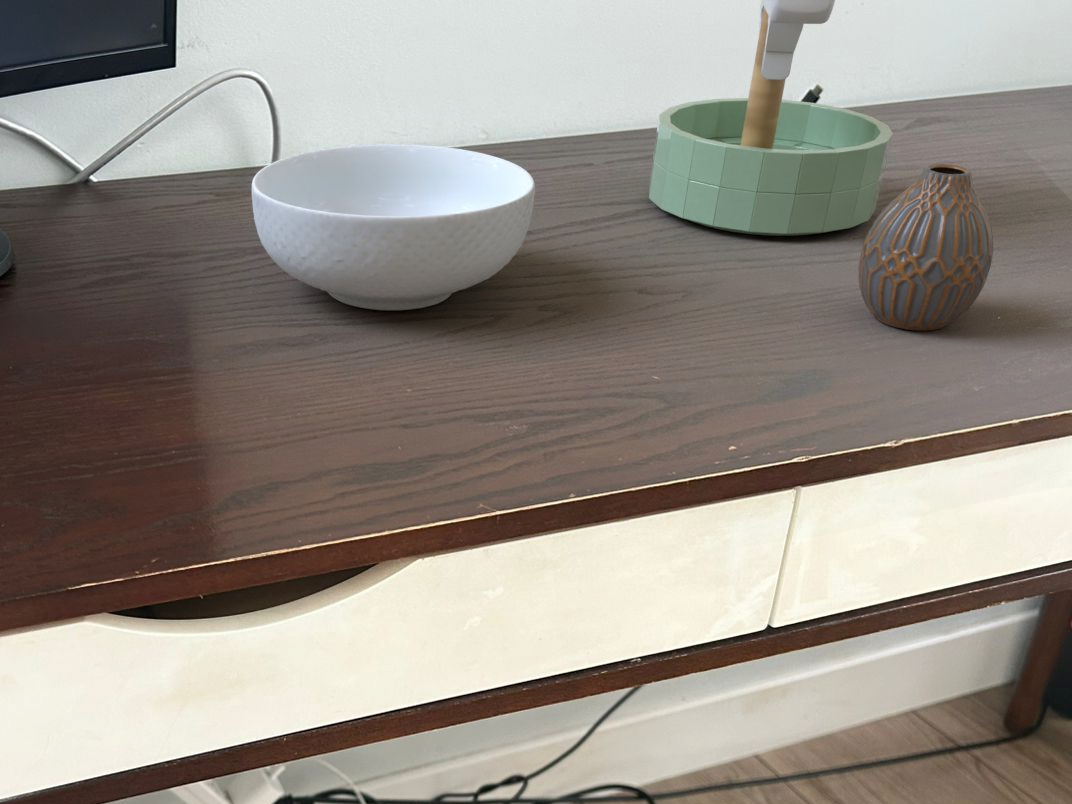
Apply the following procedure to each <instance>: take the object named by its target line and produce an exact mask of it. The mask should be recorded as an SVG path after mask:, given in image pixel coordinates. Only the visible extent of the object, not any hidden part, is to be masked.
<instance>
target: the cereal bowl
mask: <svg viewBox="0 0 1072 804" xmlns="http://www.w3.org/2000/svg"><path fill="white" fill-rule="evenodd" d="M535 183H536V182H535V180H534V178H533V176H532V175H531V174H530V173H529V171H527V170H526V169H525V168H523V167H522V166H520V165H518V164H516V163H514V162H511V161H509V160H507V159H504V158H502V157H501V158H500V157H497V156H494V155H491V154H487V153H483V152H479V151H474V150H469V149H462V148H456V147H455V148H454V147H447V146H439V145H425V144H409V143H408V144H407V143H406V144H403V143H377V144H375V143H374V144H373V143H372V144H361V145H360V144H358V145H346V146H338V147H337V146H336V147H329V148H321V149H316V150H315V149H314V150H310V151H306V152H302V153H297V154H294V155H290V156H287V157H284V158H280V159H278V160H275V161H273V162H271V163H269V164H268V165H266V166H263V168H261V169H260V170H259V171H258V172H256V174H255V175H254V177H253V179H252V181H251V203H252V204H251V206H252V212H253V220H254V224H255V229H256V232H257V235H258V238H259V240H260V244H261V245H262V247H263V248H264V250H265V251H266V253H267V254H268V256H269V257H270V258H271V260H272V261H273V262H274V263H275V264H276V265H277V266H278V267H279V268H280V269H282V270H283V271H284V272H285V273H287V274H288V275H289V276H290V277H292V278H294V279H296V280H298V281H299V282H301V283H304V284H305V285H307V286H311V287H313V288H314V289H319V290H321V291H324V292H326V293H327V294H328V295H329V296H331V297H332V298H333V299H335V300H336V301H338V302H341V303H342V304H345V305H348V306H351V307H356V308H361V309H366V310H373V311H375V310H376V311H408V310H418V309H424V308H428V307H431V306H435V305H437V304H440V303H442V302H444V301H445V300H447V299H448V298H449V297H450V296H452V294H453V293H456V292H458V291H462V290H466V289H468V288H471V287H473V286H475V285H478V284H480V283H483V282H484V281H486V280H489V279H490V278H491V277H492V276H495V275H496V274H498V272H499V271H501V270H503V269H504V268H505V266H506V265H508V264H509V263H510V262H511V261H512V259H513V258H514V257H515V256H516V255H517V254H518V252H519V250H520V248H521V247H522V245H523V244H524V241H525V239H526V237H527V233H528V230H529V227H530V225H531V219H532V216H533V212H534V210H533V209H534V203H535V193H536V184H535Z"/></svg>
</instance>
